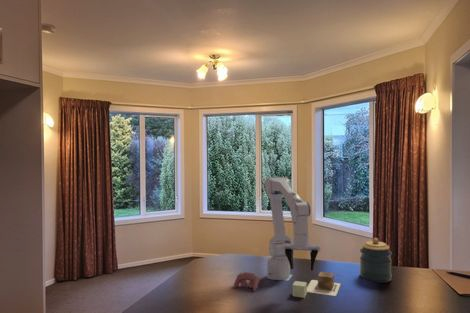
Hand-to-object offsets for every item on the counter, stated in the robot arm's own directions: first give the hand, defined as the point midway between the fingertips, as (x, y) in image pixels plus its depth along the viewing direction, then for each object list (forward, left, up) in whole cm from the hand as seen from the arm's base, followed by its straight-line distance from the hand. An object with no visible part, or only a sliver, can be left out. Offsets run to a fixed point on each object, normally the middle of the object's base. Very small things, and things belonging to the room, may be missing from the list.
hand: (302, 269), depth 144 cm
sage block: (-1, 0, -11) cm, 10 cm away
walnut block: (+7, +12, -10) cm, 17 cm away
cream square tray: (+6, +11, -10) cm, 16 cm away
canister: (+25, +32, -11) cm, 42 cm away
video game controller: (-23, 0, -11) cm, 25 cm away
